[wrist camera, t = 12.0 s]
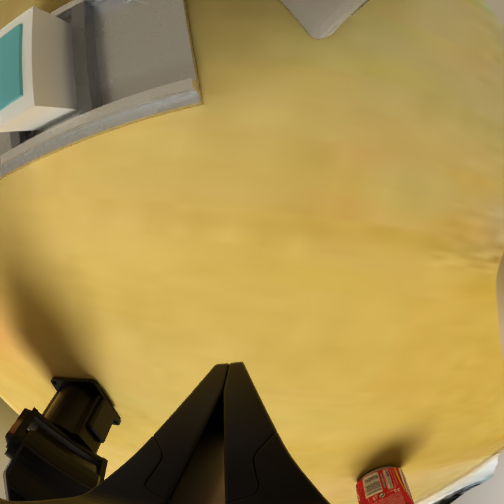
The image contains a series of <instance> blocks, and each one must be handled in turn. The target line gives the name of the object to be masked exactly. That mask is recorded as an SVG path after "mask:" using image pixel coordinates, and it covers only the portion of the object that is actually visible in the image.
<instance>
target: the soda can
mask: <svg viewBox="0 0 504 504" xmlns="http://www.w3.org/2000/svg"><path fill="white" fill-rule="evenodd" d="M356 488H357V497H358V502H359V504H414V502H413V499H412V496H411V493H410V490H409V487H408V484H407V481H406V478H405V476H404V474H403V472H402V470H401V469H400V468H397V467H391V466H387V467H382V468H378V469H375V470H373V471H371V472H369V473H367V474H366V475H364V476H363V477H362V479H361V480H360V481H359V482H358V483H357V485H356Z"/></svg>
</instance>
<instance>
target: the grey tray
mask: <svg viewBox="0 0 504 504" xmlns="http://www.w3.org/2000/svg"><path fill="white" fill-rule="evenodd" d="M50 14H52V15H54V16H56V17H58V18H60V19H62V20H64V21H66V22H68V23H70V24H72V48H73V64H74V76H75V87H76V96H77V104H78V112H75V113H73V114H71V115H69V116H66V117H64V118H62V119H60V120H58V121H56V122H54V123H52V124H50V125H48V126H46V127H44V128H42V129H40V130H31V131H12V132H0V179H2V178H4V177H5V176H7V175H9V174H11V173H13V172H15V171H17V170H19V169H21V168H23V167H25V166H27V165H29V164H31V163H33V162H35V161H37V160H39V159H42V158H44V157H46V156H48V155H50V154H53V153H55V152H57V151H60V150H62V149H64V148H67V147H69V146H72V145H74V144H76V143H79V142H82V141H84V140H87V139H89V138H92V137H95V136H97V135H100V134H103V133H106V132H108V131H111V130H114V129H117V128H120V127H123V126H126V125H129V124H132V123H136V122H139V121H142V120H145V119H149V118H152V117H156V116H159V115H163V114H166V113H170V112H174V111H178V110H182V109H186V108H190V107H194V106H198V105H203V101H202V96H201V90H200V84H199V79H198V73H197V67H196V62H195V56H194V50H193V44H192V38H191V32H190V26H189V20H188V14H187V8H186V2H185V0H72V1H71V2H69V3H67V4H65V5H63V6H61V7H60V8H58V9H56V10H55V11H53V12H51V13H50Z"/></svg>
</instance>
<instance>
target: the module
mask: <svg viewBox="0 0 504 504" xmlns="http://www.w3.org/2000/svg"><path fill="white" fill-rule="evenodd" d="M75 112H78V104H77V96H76V87H75V76H74V64H73V48H72V24H70V23H68V22H66V21H64V20H62V19H60V18H58V17H56V16H54V15H52V14H50V13H48V12H46V11H43V10H41V9H39V8H37V7H35V6H32V7H31V8H29V9H28V10H27V11H25V12H24V13H22V14H21V15H19V16H18V17H17V18H15V19H14V20H13V21H11V22H10V23H9V24H7V25H6V26H5V27H4V28H2V29H1V30H0V132H12V131H31V130H40V129H42V128H44V127H46V126H48V125H50V124H52V123H54V122H56V121H58V120H60V119H62V118H64V117H66V116H69V115H71V114H73V113H75Z"/></svg>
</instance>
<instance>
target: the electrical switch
mask: <svg viewBox="0 0 504 504" xmlns="http://www.w3.org/2000/svg"><path fill="white" fill-rule="evenodd" d="M280 1H281V2H282V3H283V4H284V5H285V7H286V8H287V9H288V10H289V11H290V12H291V13H292V14H293V16H294V17H295V18H296V19H297V20H298V21H299V23H300V24H301V25H302V26H303V27H304V29H305V30H306V31H307V32H308V34H309V35H310V36H311V37H312V38H316V39H322V38H325V37H328V36H330V35H331V34H333V33H334V32H335V31H336V30H337V28H338V27H339V26H340V25H341V24H342V23H343V22H344V21H345V20H346V19H347V18H348V17H349V16H350V15H353V14H354V13H355V12H356V11H357V10H358V9H359V8H361V7H362V6H363V5H364V4H365V3H366V2H368V1H369V0H280Z"/></svg>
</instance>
